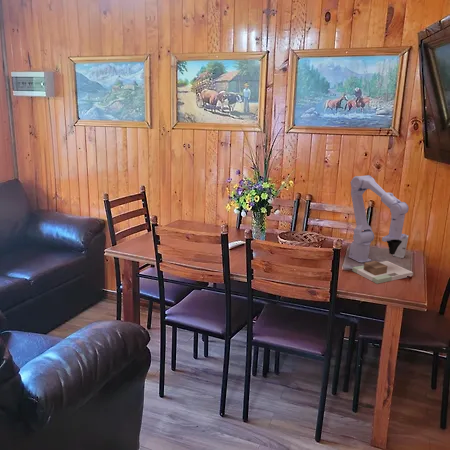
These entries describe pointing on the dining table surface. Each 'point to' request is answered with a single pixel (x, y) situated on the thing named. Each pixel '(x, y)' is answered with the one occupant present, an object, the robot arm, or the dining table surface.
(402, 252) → the skincare box
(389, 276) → the board
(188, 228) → the dining table surface
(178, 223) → the dining table surface
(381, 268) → the walnut block
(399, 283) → the dining table surface
